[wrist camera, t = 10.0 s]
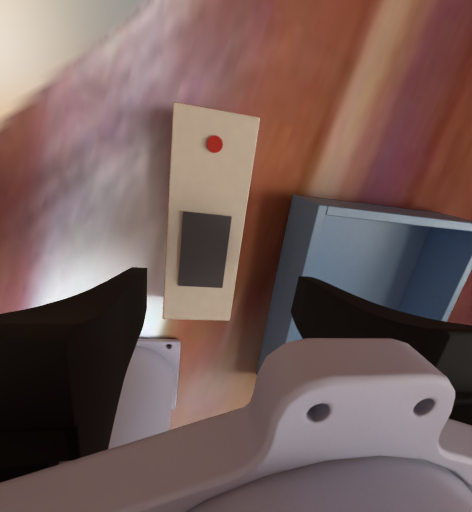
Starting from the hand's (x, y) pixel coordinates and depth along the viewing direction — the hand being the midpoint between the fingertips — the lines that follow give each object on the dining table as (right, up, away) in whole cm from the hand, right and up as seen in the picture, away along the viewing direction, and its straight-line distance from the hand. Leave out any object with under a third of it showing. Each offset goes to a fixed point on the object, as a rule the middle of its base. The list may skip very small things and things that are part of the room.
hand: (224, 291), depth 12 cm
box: (+10, -2, +12) cm, 16 cm away
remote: (-2, +4, +7) cm, 8 cm away
